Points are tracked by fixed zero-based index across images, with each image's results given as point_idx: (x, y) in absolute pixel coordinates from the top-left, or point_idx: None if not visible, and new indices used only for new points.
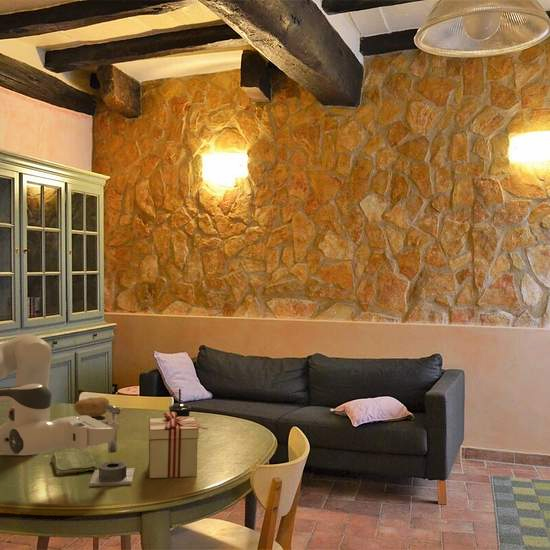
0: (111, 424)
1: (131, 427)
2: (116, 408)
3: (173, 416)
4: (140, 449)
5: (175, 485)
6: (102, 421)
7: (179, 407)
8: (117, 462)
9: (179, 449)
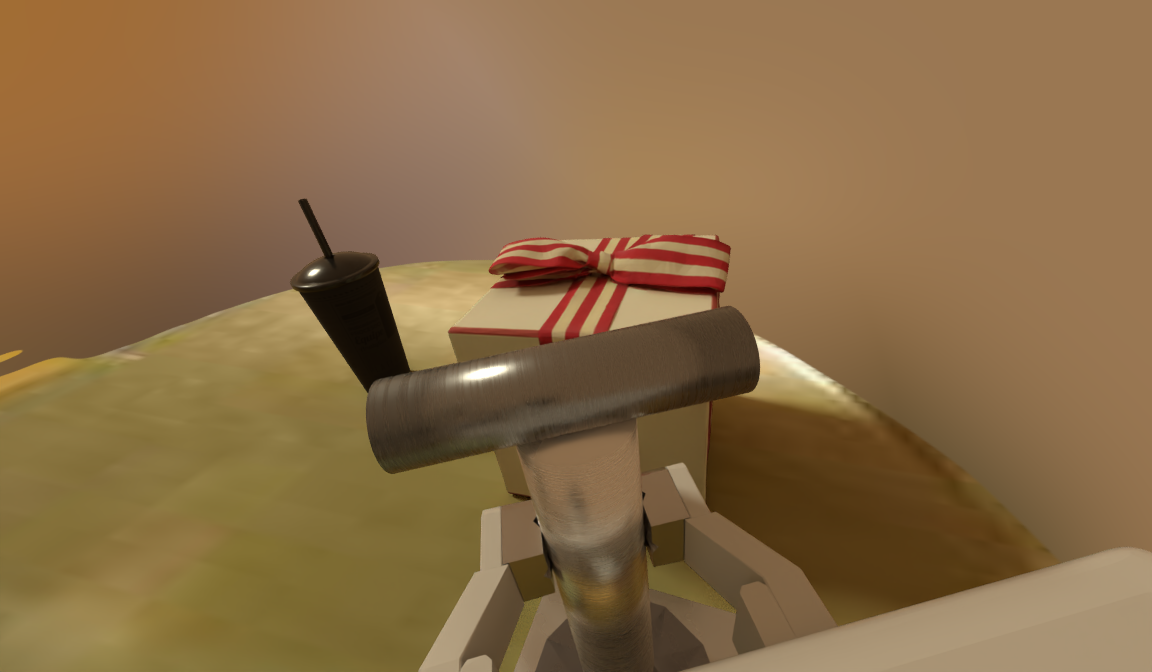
0: (723, 536)
1: (51, 469)
2: (735, 320)
3: (582, 247)
4: (308, 488)
5: (798, 457)
6: (479, 625)
7: (354, 265)
8: (574, 647)
9: None
